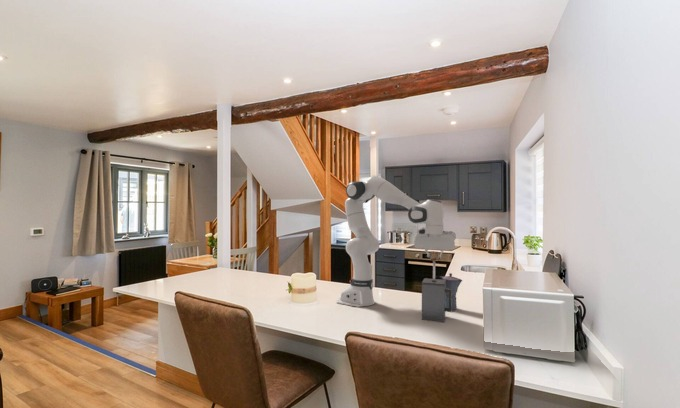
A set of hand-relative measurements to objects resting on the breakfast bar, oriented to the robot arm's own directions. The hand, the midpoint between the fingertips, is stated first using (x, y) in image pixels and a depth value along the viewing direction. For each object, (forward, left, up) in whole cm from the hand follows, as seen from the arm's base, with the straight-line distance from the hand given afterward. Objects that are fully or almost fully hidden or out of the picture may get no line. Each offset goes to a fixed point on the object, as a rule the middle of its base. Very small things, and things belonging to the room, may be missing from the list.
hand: (434, 257), depth 181 cm
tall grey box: (+2, 0, -31) cm, 31 cm away
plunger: (0, 0, -20) cm, 20 cm away
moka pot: (+6, +20, -31) cm, 38 cm away
